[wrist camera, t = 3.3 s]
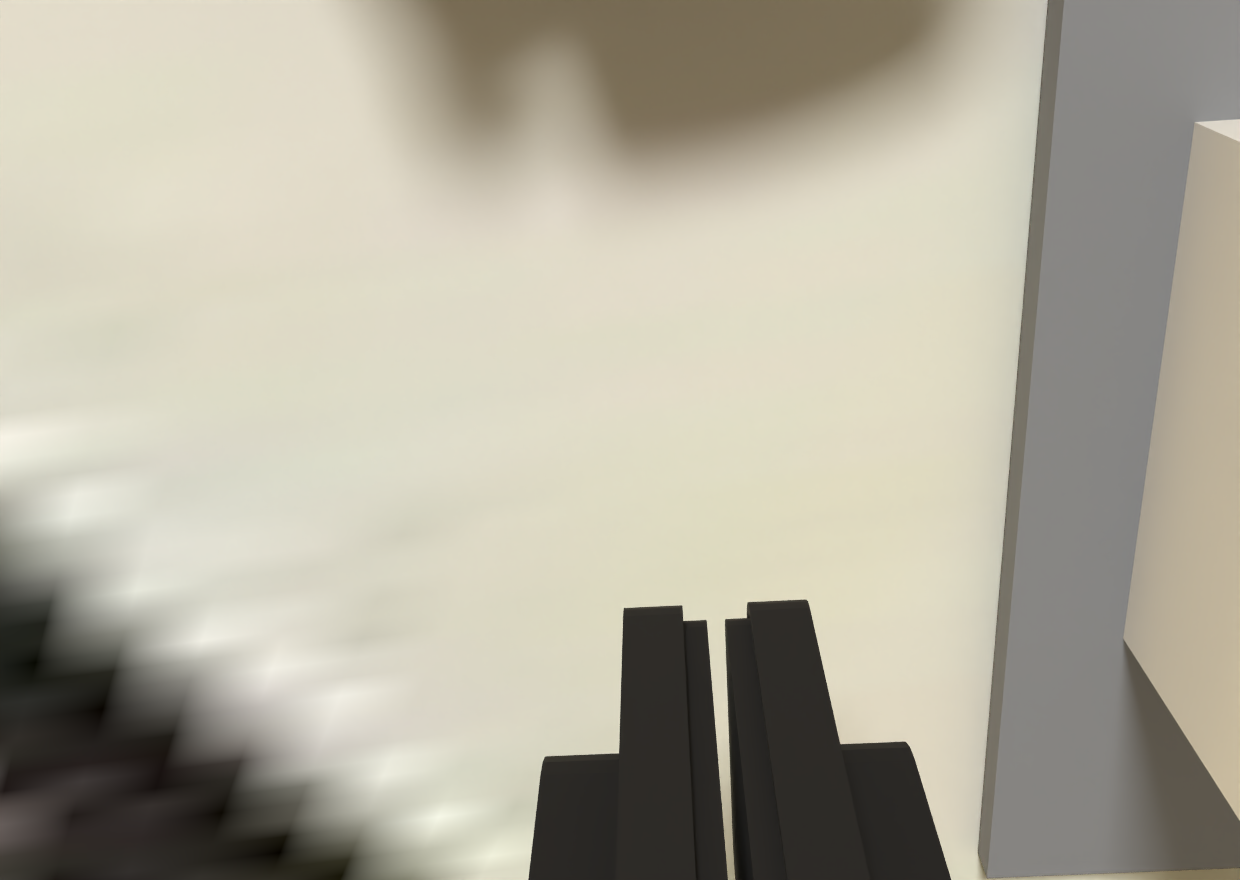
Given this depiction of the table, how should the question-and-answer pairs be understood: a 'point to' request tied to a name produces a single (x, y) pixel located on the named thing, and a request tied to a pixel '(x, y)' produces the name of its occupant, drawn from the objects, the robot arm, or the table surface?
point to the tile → (1197, 474)
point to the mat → (1098, 453)
